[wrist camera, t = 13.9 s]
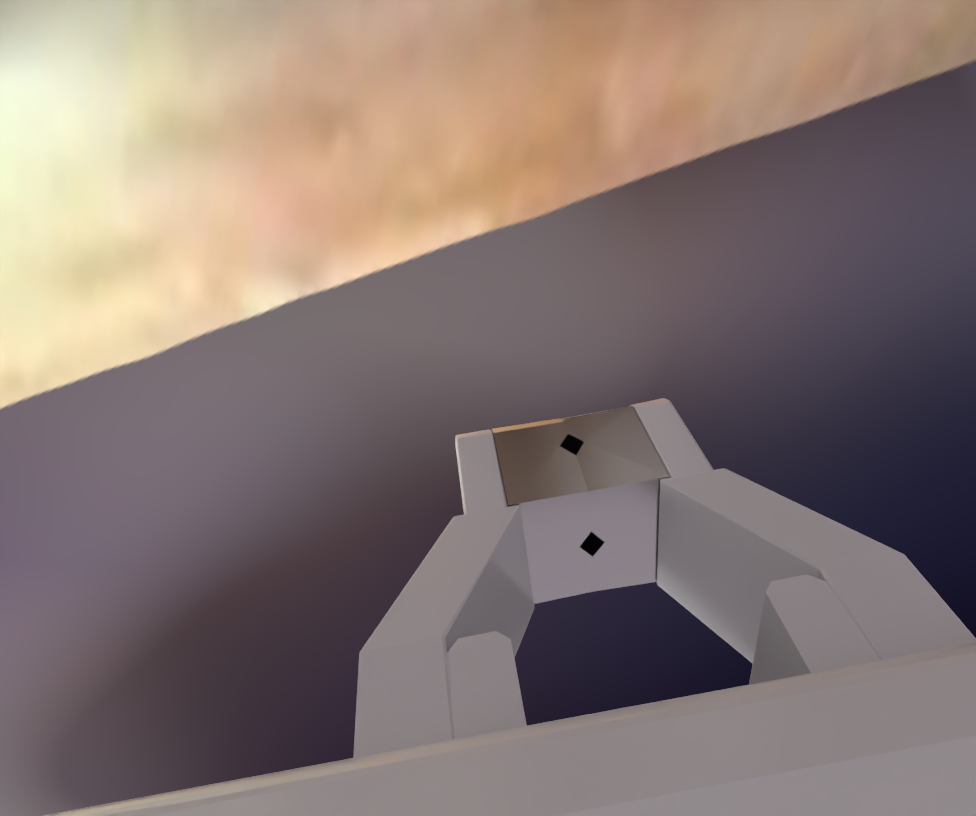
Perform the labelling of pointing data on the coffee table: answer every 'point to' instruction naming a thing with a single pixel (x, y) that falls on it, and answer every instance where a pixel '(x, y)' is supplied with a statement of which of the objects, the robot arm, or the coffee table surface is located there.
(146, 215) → the coffee table surface
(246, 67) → the coffee table surface
